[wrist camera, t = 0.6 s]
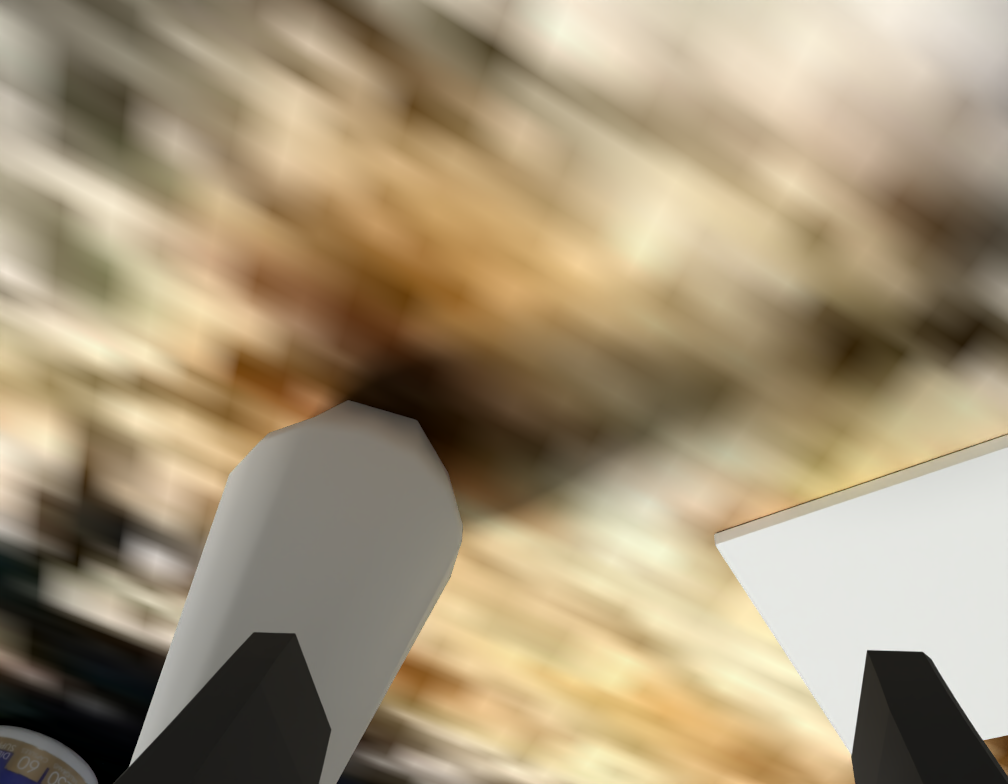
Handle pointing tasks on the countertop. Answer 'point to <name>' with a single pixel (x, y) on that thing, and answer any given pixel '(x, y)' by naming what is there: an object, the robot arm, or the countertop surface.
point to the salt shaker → (321, 565)
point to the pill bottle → (39, 760)
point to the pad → (891, 582)
